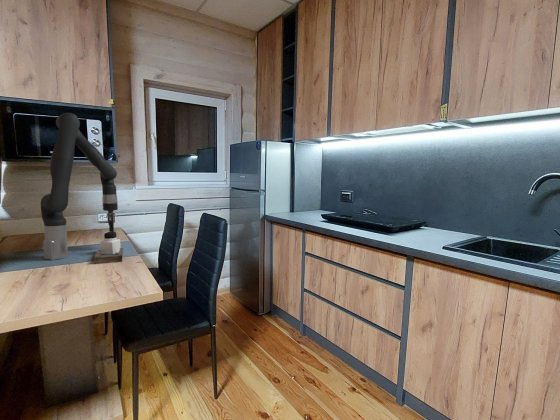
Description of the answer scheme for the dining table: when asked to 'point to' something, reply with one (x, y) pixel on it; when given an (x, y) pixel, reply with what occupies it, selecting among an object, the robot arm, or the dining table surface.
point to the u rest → (108, 257)
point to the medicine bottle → (110, 243)
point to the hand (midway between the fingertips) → (111, 231)
